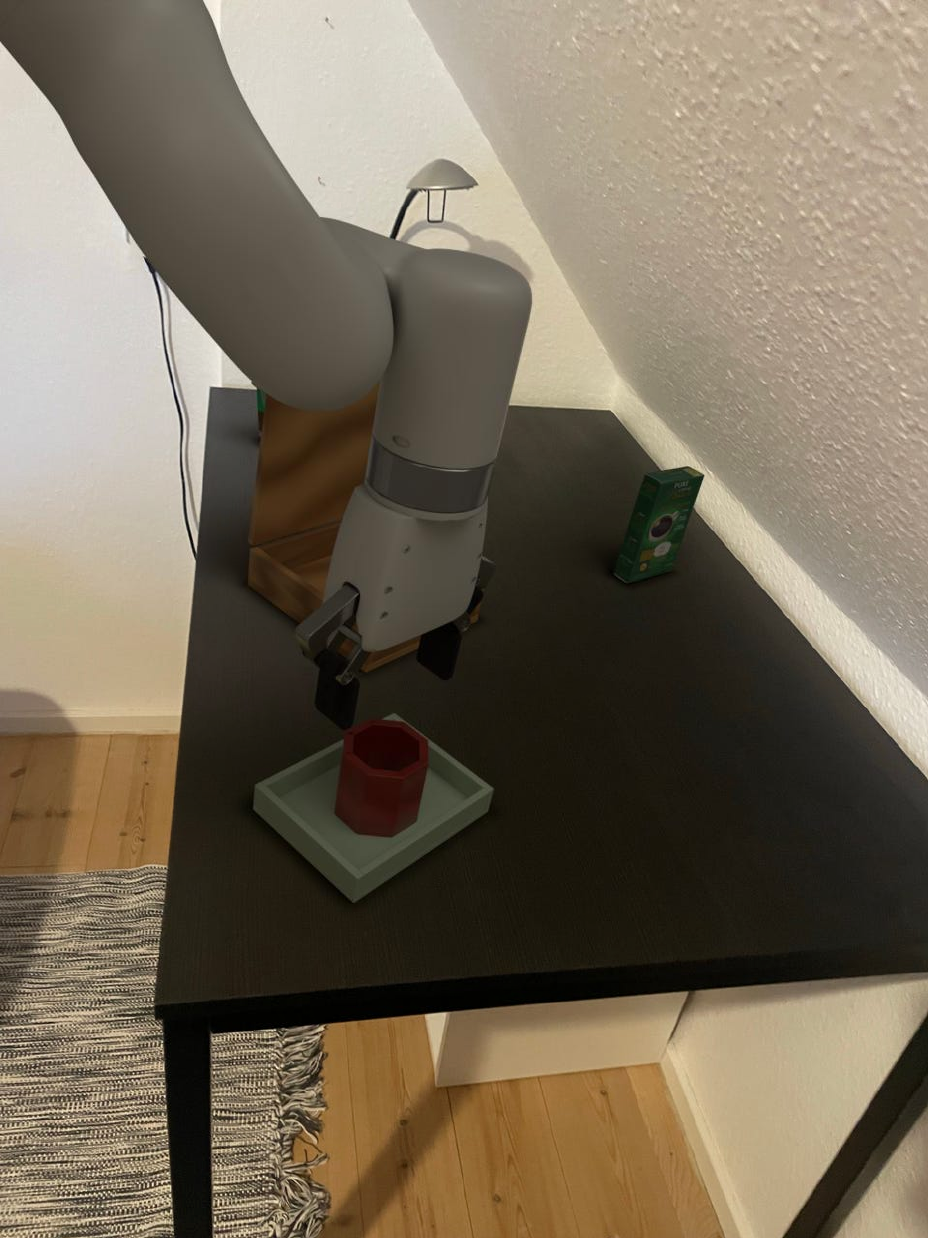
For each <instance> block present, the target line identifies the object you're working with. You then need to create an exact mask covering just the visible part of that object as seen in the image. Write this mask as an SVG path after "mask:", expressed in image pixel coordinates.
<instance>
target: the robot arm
mask: <svg viewBox="0 0 928 1238" xmlns="http://www.w3.org/2000/svg"><path fill="white" fill-rule="evenodd" d="M0 43H1V45H2V46H3V47H4V48H5V49H6V51H7V52H8V53H9V55H10V56H11V57H12V58H13V59H14V60H15V61H16V63H17V64H18V65H19V66H20V67H21V69H22V70H23V71H24V73H25V74H26V75H27V76H28V77H29V78H30V80H31V81H32V82H33V83H34V84H35V86H36V87H37V88H38V90H39V91H40V92H41V93H42V95H43V96H44V97H45V98H46V99H47V101H48V102H49V103H50V105H51V106H52V108H53V109H54V110H55V113H57V114H58V116H59V118H60V121H62V124H63V125H64V127H65V129H66V131H67V133H68V135H69V137H70V139H71V141H72V144H73V145H74V147H75V148H76V150H77V152H78V154H79V155H80V158H81V159H82V160H83V162H84V163H85V164H86V166H87V168H88V170H89V171H90V172H91V174H92V175H93V178H95V180H96V181H97V183H98V184H99V186H100V189H102V191H103V193H104V195H105V196H106V198H107V200H108V201H109V203H110V204H111V206H112V208H113V209H114V211H115V213H116V214H117V216H118V218H119V219H120V220H121V222H122V224H123V225H124V227H125V228H126V230H127V232H128V233H129V235H130V236H131V238H132V239H133V241H134V242H135V244H136V245H137V247H138V248H139V250H140V251H141V253H142V254H143V255H144V257H145V258H146V259H147V261H148V262H149V264H150V266H152V268H153V269H154V270H155V272H156V273H157V274H158V276H159V277H160V279H161V281H163V282H164V283H165V285H166V286H167V287H168V288H169V289H170V291H171V292H172V293H173V295H174V296H175V297H176V298H177V299H178V301H179V302H180V303H181V304H182V305H183V306H184V308H185V309H186V310H187V312H189V314H190V315H191V316H192V317H193V318H194V319H195V320H196V321H197V323H198V324H199V325H200V327H202V329H203V330H204V331H205V332H206V333H207V334H208V335H209V337H210V338H211V339H212V340H213V341H214V342H215V343H216V345H217V346H218V347H219V348H220V349H221V350H222V352H223V353H224V354H225V355H226V357H227V358H228V359H229V360H230V361H231V363H233V364H234V365H235V366H236V367H237V368H238V370H239V371H240V372H241V373H242V374H243V375H244V376H245V377H246V378H247V379H248V380H249V381H250V382H253V383H254V384H255V385H256V386H257V387H259V388H260V389H261V390H263V391H264V392H266V393H267V394H268V395H270V396H271V397H273V398H274V399H276V400H278V401H280V402H282V403H284V404H286V405H288V406H290V407H294V408H297V409H301V410H304V411H312V412H328V411H336V410H339V409H342V408H345V407H348V406H350V405H352V404H354V403H356V402H357V401H359V400H361V399H362V398H364V397H365V396H366V395H367V394H368V393H369V392H370V391H371V390H373V389H374V387H375V386H376V385H377V383H378V382H379V381H380V386H379V392H378V399H377V405H376V411H375V418H374V424H373V431H372V435H371V442H370V448H369V454H368V461H367V467H366V474H365V481H364V484H362V485H360V486H357V487H355V489H354V491H353V494H352V496H351V498H350V501H349V503H348V505H347V508H346V511H345V514H344V516H343V518H342V519H341V520H342V522H341V525H340V529H339V532H338V535H337V539H336V542H335V546H334V550H333V554H332V558H331V563H330V567H329V572H328V577H327V581H326V587H325V593H324V598H323V604H322V605H321V606H320V607H319V608H318V609H317V610H315V611H314V612H313V613H312V614H311V615H310V616H308V617H307V618H306V619H305V620H304V621H303V622H301V623H300V624H299V623H298V625H297V626H296V628H295V629H294V636H295V639H296V641H297V642H298V644H299V647H300V649H301V654H302V656H303V657H305V659H307V660H308V661H310V663H312V664H314V666H316V667H317V668H318V669H319V670H318V676H317V683H316V690H315V696H314V706H315V708H316V710H317V711H318V712H320V714H322V715H323V716H324V717H326V718H327V719H328V720H329V721H330V722H332V723H333V724H334V725H335V726H336V727H338V728H339V729H340V730H341V731H344V732H345V731H347V730H349V729H351V728H352V727H353V724H354V721H355V715H356V710H357V703H358V700H359V699H358V697H359V694H360V693H359V692H360V688H361V681H360V680H359V679H358V678H357V677H356V676H357V674H358V673H359V672H360V670H361V669H360V668H361V667H362V666H363V664H364V663H365V661H366V660H367V659H368V657H369V656H370V654H371V653H372V652H375V651H380V650H384V649H387V648H390V647H393V646H395V645H398V644H400V643H403V642H405V641H407V640H410V639H412V638H415V637H417V636H419V635H421V638H420V643H419V647H418V649H417V653H416V657H415V659H416V661H417V663H418V664H420V665H421V666H422V667H424V668H425V669H427V670H428V671H429V672H431V673H432V674H433V675H435V676H436V677H438V679H440V680H442V681H445V682H446V681H448V680H450V679H452V678H453V676H454V672H455V668H456V664H457V659H458V656H459V651H460V648H461V644H462V639H463V635H462V634H463V633H465V632H466V631H467V630H468V629H469V628H470V626H471V625H472V624H471V618H470V617H469V616H470V614H471V613H472V612H473V610H474V609H475V608H476V607H477V605H478V604H479V603H480V602H481V603H482V600H483V599H484V592H483V591H482V590H483V588H484V590H485V589H487V588H486V587H487V586H488V584H489V583H490V581H491V579H492V577H493V575H494V573H495V571H496V569H497V564H496V563H494V562H493V561H492V560H490V559H488V558H486V557H485V556H484V555H483V550H484V544H485V537H486V528H487V520H488V506H489V491H490V489H491V482H492V478H493V475H494V470H495V466H496V462H497V457H498V453H499V449H500V446H501V441H502V436H503V432H504V428H505V423H506V420H507V416H508V411H509V406H510V402H511V398H512V393H513V388H514V386H515V381H516V376H517V372H518V369H519V363H520V360H521V356H522V351H523V347H524V343H525V339H526V335H527V330H528V327H529V323H530V317H531V314H532V313H531V312H532V307H533V291H532V288H531V285H530V282H529V281H528V279H527V278H526V276H524V274H523V273H522V272H521V271H519V270H517V269H516V268H514V267H513V266H511V265H509V264H507V263H506V262H503V261H501V260H498V259H495V258H493V257H489V256H486V255H483V254H479V253H475V252H470V251H466V250H460V249H453V248H440V247H439V248H438V247H436V248H435V247H434V248H425V247H421V246H417V245H413V244H411V243H408V242H404V241H401V240H398V239H395V238H391V237H389V236H386V235H383V234H381V233H378V232H375V231H372V230H369V229H366V228H364V227H361V226H358V225H355V224H353V223H350V222H347V221H344V220H340V219H337V218H331V217H326V216H320V215H319V214H318V212H317V211H316V209H315V208H314V206H313V205H312V204H311V202H310V201H309V200H308V199H307V197H306V196H305V194H304V193H303V192H302V190H301V188H300V187H299V185H298V184H297V183H296V181H295V180H294V178H293V176H291V174H290V173H289V171H288V170H287V168H286V166H285V165H284V164H283V162H282V161H281V159H280V157H279V156H278V155H277V153H276V152H275V149H274V148H273V147H272V145H271V143H270V142H269V140H268V139H267V136H266V135H265V134H264V131H263V130H262V129H261V127H260V125H259V124H258V122H257V120H256V118H255V117H254V115H253V113H252V111H251V109H250V108H249V106H248V103H247V102H246V100H245V98H244V96H243V95H242V92H241V90H240V88H239V85H238V84H237V81H236V79H235V77H234V75H233V72H232V70H231V68H230V65H229V62H228V60H227V57H226V53H225V50H224V48H223V45H222V41H221V39H220V37H219V34H218V30H217V27H216V25H215V22H214V20H213V17H212V16H211V13H210V11H209V9H208V7H207V5H206V3H205V1H204V0H0ZM380 379H381V380H380ZM356 621H357V626H358V632H359V633H358V632H357V631H356V630H354V629H353V628H352V627H353V625H354V624H355V622H356ZM347 637H348V638H349V639H350V640H352V641H353V642H354V643H356V646H355V647H354V649H353V650H352V651H351V653H350V654H349V656H348V657H347V658H345V660H342V659H341V658H340V657H338V656H337V655H336V654H337V653H338V652H337V651H338V649H339V648H340V647H341V645H342V644H343V642H344V641H345V640H346V638H347Z"/></svg>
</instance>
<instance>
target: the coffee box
mask: <svg viewBox="0 0 928 1238" xmlns="http://www.w3.org/2000/svg"><path fill="white" fill-rule="evenodd" d="M704 479H705V474H704V473H702V472H700V471H699V470H697V469H695V468H693V467H691V466H689V465H686V466H680V467H675V468H668V469H662V470H657V471H651V472H644V473H643V477H642V480H641V484H640V488H639V490H638V494H637V496H636V500H635V503H634V506H633V509H632V513H631V515H630V518H629V522H628V525H627V527H626V532H625V533H624V534H625V535H624V538H623V541H622V544H621V547H620V550H619V554H618V556H617V560H616V563H615V566H614V568H613V573H612V574H613V575H614V576H615V577H617V578H618V579H619V580H621V581H622V582H624V583H625V584H632V583H638V582H641V581H642V580H645V579H649V578H652V577H656V576H661V575H664V574H668V573H671V572H672V570H673V567H674V565H675V562H676V559H677V556H678V554H679V550H680V548H681V545H682V541H683V538H684V536H685V533H686V530H687V528H688V525H689V522H690V519H691V515H692V514H693V513H692V512H693V510H694V507H695V504H696V502H697V498H698V496H699V492H700V490H701V487H702V485H703V481H704Z"/></svg>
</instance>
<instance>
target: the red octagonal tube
mask: <svg viewBox="0 0 928 1238" xmlns="http://www.w3.org/2000/svg"><path fill="white" fill-rule="evenodd" d="M408 724H409V723H408ZM408 724H406V723H405V722H401V721H392V720H383V718H373V717H370V718H368V719H366V720H364V721H363V722H360V723H358V724H356V725H354V726H352V727H351V728H349V729H347V730H345V731H344V734H343V739H344V741H343V749H342V756H341V763H340V770H339V778H338V785H337V793H336V803H335V815H336V816H337V817H338V818H339V819H341V820H342V821H343V822H344V823H345V824H346V825H347V826H348V827H350V828H351V829H352V830H353V831H354V832H355V833H356V834H358V835H369V836H380V837H394V836H395V835H397V834H399V833H400V832H402V831H403V830H405V829H406V828H408V827H409V826H411V825H413V824H414V823H416V822H417V818H418V813H419V808H420V803H421V798H422V794H423V789H424V784H425V779H426V774H427V769H428V764H429V751H428V740H427V739H426V738H425V737H426V736H425V737H423V736H422V735H421V734H422V733H421V734H419V733H418V732H417V731H418V730H417V729H416V730H417V731H416V730H414V729H413V728H414V727H413V726H412V727H413V728H412V727H410V726H409V725H408Z"/></svg>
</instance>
